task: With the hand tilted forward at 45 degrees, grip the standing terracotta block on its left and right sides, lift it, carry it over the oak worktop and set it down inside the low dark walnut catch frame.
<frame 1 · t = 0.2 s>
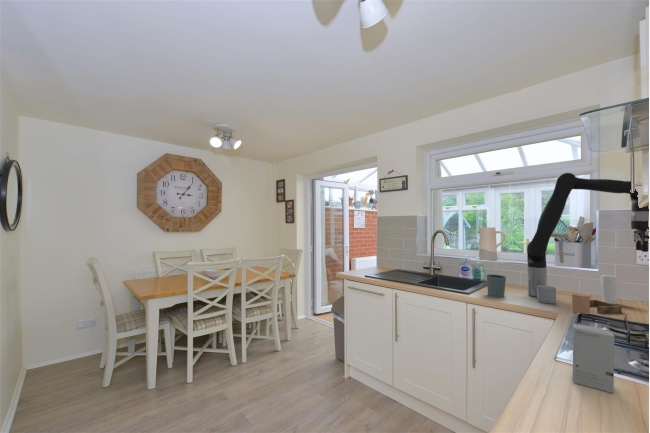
hand: (641, 251, 153), 29 cm above the table, tool pointing down, fingers open, 8 cm apart
drinking glass 2: (609, 303, 160), on the table
terracotta block: (581, 313, 141), on the table
grey upright rectangular block: (593, 384, 79), on the table
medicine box: (546, 302, 162), on the table
catch frame: (596, 309, 148), on the table
green plant pot: (496, 296, 176), on the table
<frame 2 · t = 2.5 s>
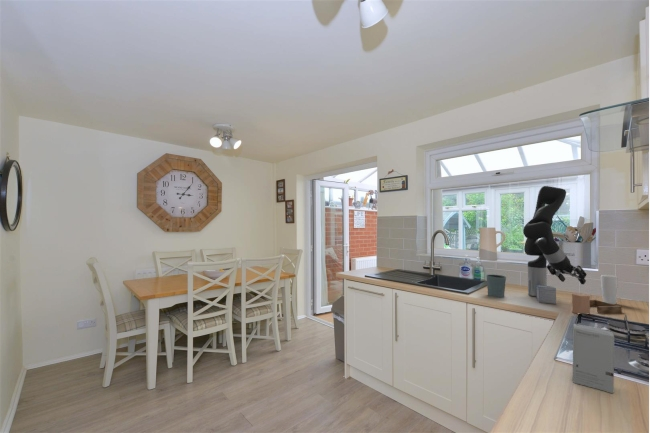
hand: (573, 281, 138), 16 cm above the table, tool tilted 40°, fingers open, 8 cm apart
nothing on the table moved.
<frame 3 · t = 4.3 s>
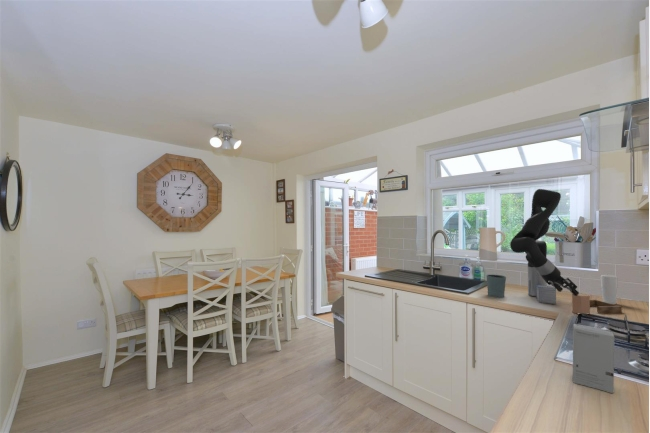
hand: (568, 292, 141), 10 cm above the table, tool tilted 45°, fingers open, 8 cm apart
nothing on the table moved.
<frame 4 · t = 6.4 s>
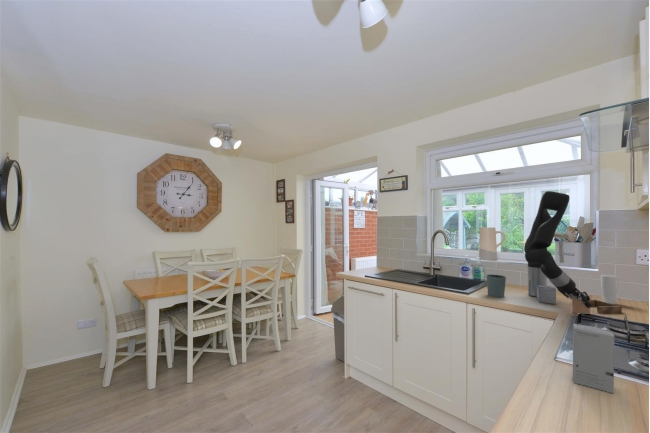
hand: (584, 304, 141), 4 cm above the table, tool tilted 45°, fingers closed on terracotta block, 4 cm apart
terracotta block: (581, 313, 141), on the table, touching gripper
everything else where it was.
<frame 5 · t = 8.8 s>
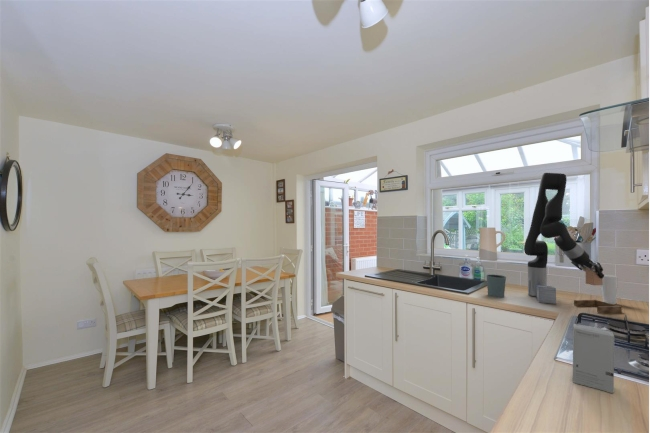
hand: (597, 276, 149), 17 cm above the table, tool tilted 45°, fingers closed on terracotta block, 4 cm apart
terracotta block: (594, 284, 149), point 13 cm above the table, touching gripper
everything else where it was.
when the fingers open (6 cm above the table, at t = 11.5 s): terracotta block drops 1 cm, on the table.
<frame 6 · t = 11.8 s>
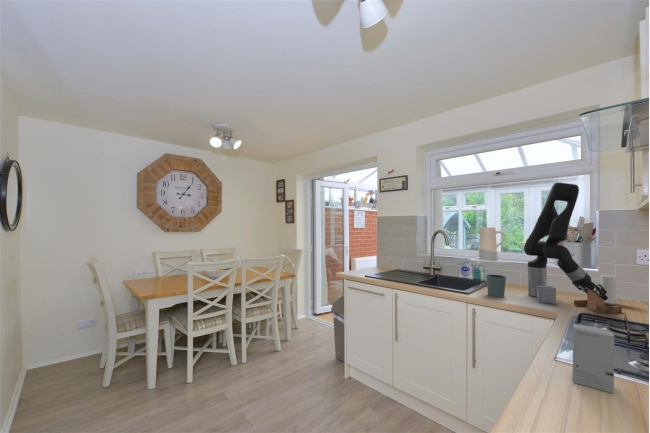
hand: (598, 297, 149), 6 cm above the table, tool tilted 45°, fingers open, 6 cm apart
terracotta block: (595, 309, 148), on the table
everything else where it was.
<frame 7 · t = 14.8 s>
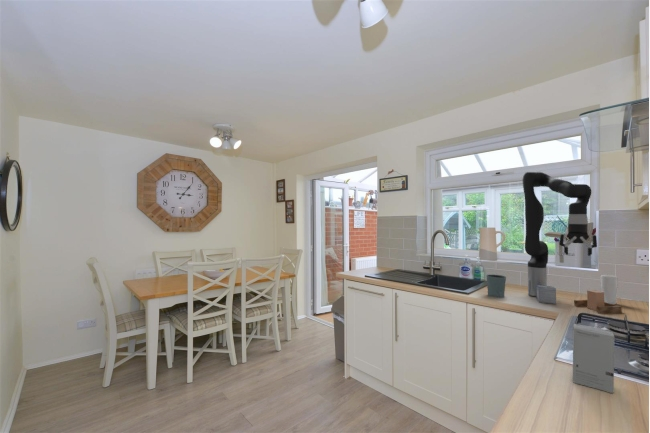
hand: (577, 255, 149), 28 cm above the table, tool pointing down, fingers open, 8 cm apart
nothing on the table moved.
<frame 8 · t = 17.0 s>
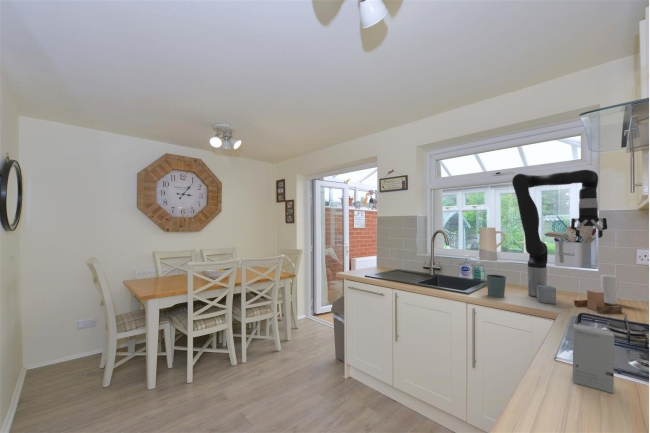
hand: (588, 237, 156), 36 cm above the table, tool pointing down, fingers open, 8 cm apart
nothing on the table moved.
at the end: terracotta block 0.1 cm from the catch frame (horizontally); terracotta block tilted 0°; the gripper is holding nothing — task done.
